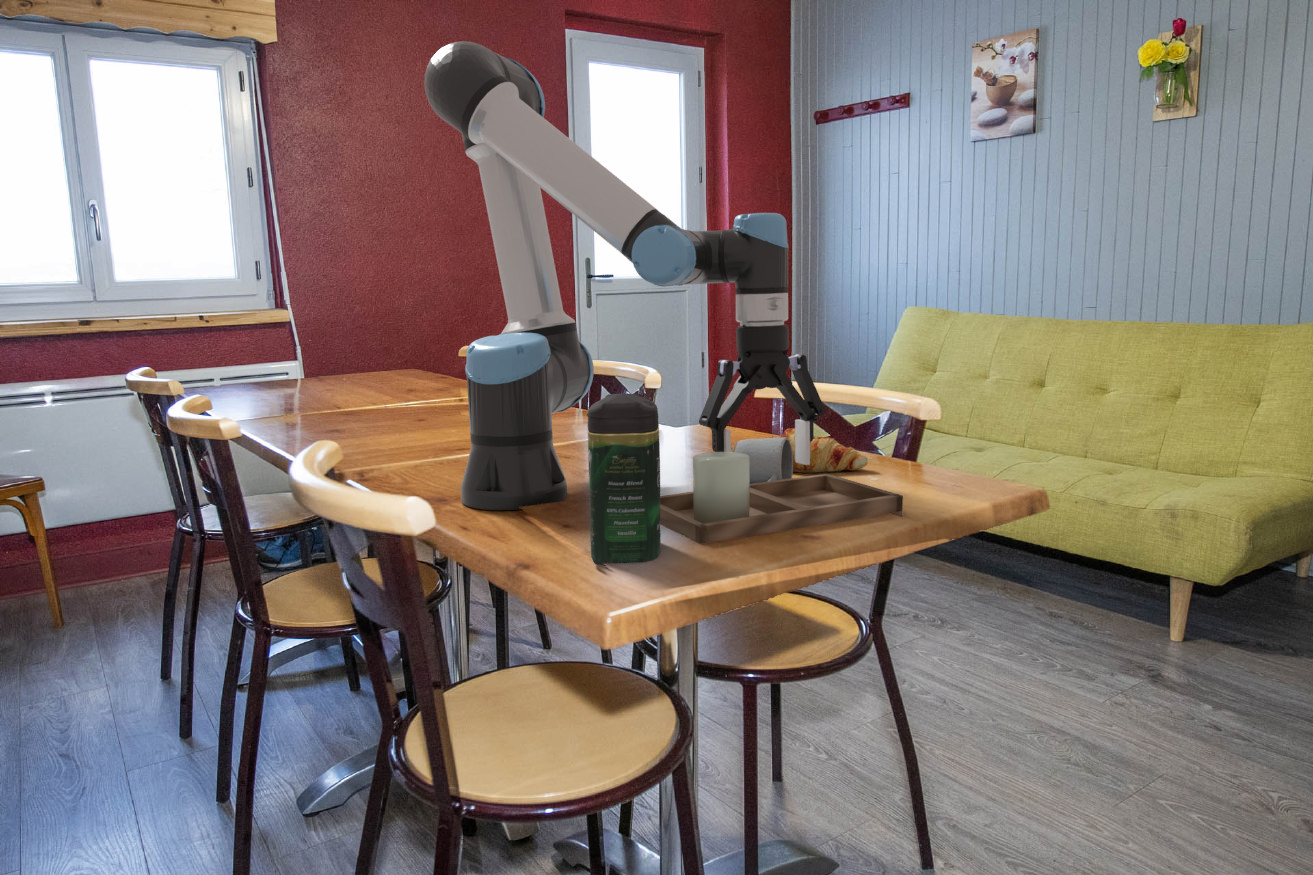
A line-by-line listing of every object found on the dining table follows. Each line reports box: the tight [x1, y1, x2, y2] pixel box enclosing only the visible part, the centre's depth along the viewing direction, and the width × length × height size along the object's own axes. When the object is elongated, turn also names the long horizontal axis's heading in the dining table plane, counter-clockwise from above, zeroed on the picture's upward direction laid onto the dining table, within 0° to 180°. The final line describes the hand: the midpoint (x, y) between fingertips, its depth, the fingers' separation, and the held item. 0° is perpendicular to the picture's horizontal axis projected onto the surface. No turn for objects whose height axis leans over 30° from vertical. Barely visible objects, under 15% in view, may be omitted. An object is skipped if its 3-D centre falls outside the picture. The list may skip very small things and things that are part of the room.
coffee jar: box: [586, 393, 662, 567], centre depth 103 cm, size 10×8×19 cm
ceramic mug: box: [731, 436, 794, 484], centre depth 137 cm, size 11×8×8 cm
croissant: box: [769, 427, 869, 474], centre depth 152 cm, size 21×10×8 cm, turn 70°
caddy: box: [660, 473, 904, 545], centre depth 120 cm, size 30×16×3 cm, turn 116°
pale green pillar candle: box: [692, 451, 750, 524], centre depth 116 cm, size 7×7×8 cm
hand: (764, 468), depth 138 cm, fingers open, 13 cm apart
